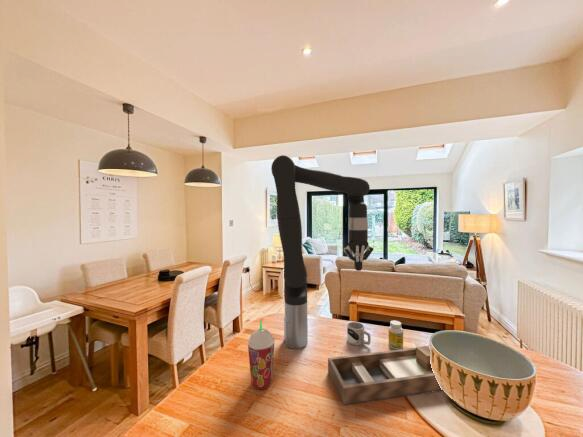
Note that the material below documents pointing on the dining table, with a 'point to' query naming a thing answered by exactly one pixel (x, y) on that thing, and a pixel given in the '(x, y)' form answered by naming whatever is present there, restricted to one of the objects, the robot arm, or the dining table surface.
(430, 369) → the walnut block
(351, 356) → the wooden compartment tray
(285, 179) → the robot arm
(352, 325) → the mug
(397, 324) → the supplement bottle
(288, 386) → the dining table surface
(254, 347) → the smoothie
